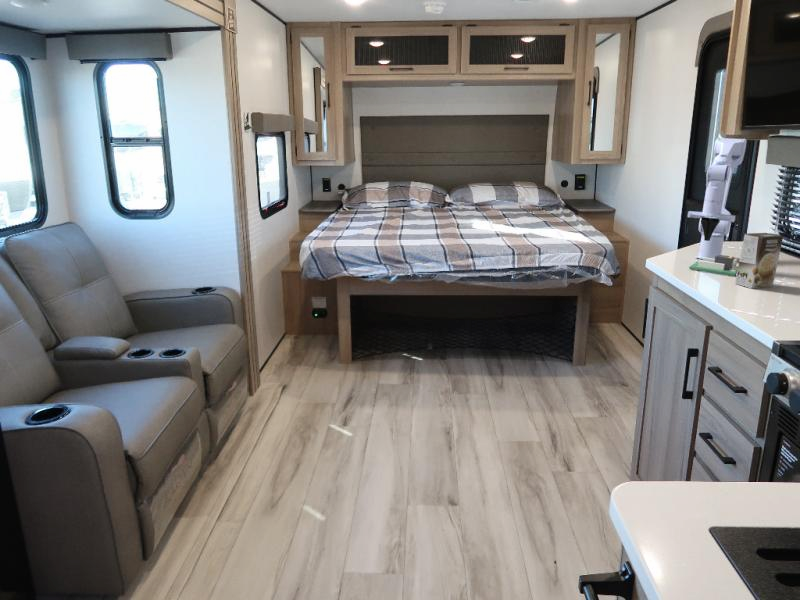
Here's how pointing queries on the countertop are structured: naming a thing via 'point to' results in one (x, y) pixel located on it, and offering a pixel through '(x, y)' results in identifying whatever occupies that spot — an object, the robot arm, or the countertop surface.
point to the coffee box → (758, 260)
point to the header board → (714, 267)
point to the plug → (725, 261)
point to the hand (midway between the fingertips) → (707, 240)
